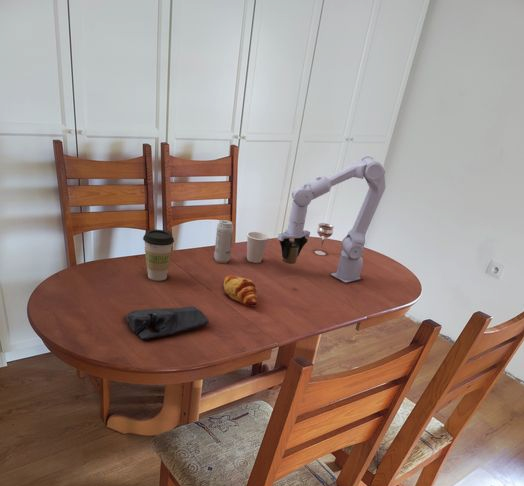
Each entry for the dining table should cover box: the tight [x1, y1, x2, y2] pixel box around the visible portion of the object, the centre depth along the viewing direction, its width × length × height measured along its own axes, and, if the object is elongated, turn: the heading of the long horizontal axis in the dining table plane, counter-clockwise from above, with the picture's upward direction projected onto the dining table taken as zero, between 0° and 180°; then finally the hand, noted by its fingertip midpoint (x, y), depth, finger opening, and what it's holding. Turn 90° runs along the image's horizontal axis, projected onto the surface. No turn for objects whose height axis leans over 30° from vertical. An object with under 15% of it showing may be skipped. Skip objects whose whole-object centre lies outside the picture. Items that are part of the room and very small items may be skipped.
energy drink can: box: [213, 219, 234, 264], centre depth 177 cm, size 6×6×15 cm
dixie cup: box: [246, 231, 269, 264], centre depth 184 cm, size 8×8×10 cm
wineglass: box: [314, 222, 335, 256], centre depth 202 cm, size 7×7×12 cm
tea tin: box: [282, 240, 300, 265], centre depth 177 cm, size 6×6×7 cm
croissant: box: [223, 274, 258, 307], centre depth 156 cm, size 21×10×8 cm, turn 30°
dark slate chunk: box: [125, 305, 209, 341], centre depth 134 cm, size 15×22×5 cm
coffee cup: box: [142, 229, 175, 282], centre depth 157 cm, size 10×10×15 cm
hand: (290, 256), depth 178 cm, fingers closed on tea tin, 5 cm apart
